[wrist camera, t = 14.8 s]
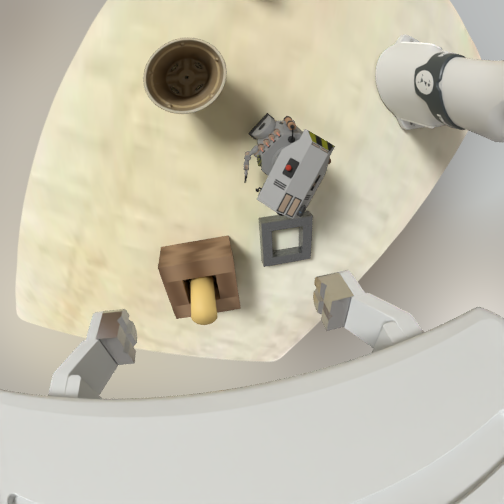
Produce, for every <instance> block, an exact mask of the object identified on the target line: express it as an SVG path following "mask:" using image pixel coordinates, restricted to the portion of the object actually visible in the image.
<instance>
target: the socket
mask: <svg viewBox="0 0 504 504" xmlns="http://www.w3.org/2000/svg"><path fill="white" fill-rule="evenodd" d="M158 269H159V272H160V275H161V278H162V281H163V284H164V287H165V289H166V292H167V295H168V298H169V300H170V303H171V306H172V308H173V311H174V314H175V316H176V319H178V318H185V317H191V282H189V281H188V279H192V278H199V277H205V276H211V275H216V278H213V283H214V292H215V300H216V309H217V312H223V311H229V310H235V309H240V302H239V295H238V288H237V281H236V274H235V267H234V260H233V254H232V250H231V245H230V241H229V236H223V237H217V238H211V239H205V240H199V241H193V242H188V243H182V244H176V245H170V246H165V247H161V251H160V258H159V264H158Z"/></svg>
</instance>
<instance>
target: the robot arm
mask: <svg viewBox="0 0 504 504" xmlns="http://www.w3.org/2000/svg"><path fill="white" fill-rule="evenodd" d="M376 84H377V89H378V92H379V94H380V97H381V99H382V101H383V102H384V104H385V105H386V106H387V108H388V109H389V110H390V111H391V112H392V113H393V114H394V115H395V116H396V118H397V120H398V122H399V124H400V126H401V128H403V129H406V130H410V129H416V128H422V127H428V128H434V127H439V126H443V125H447V126H449V127H452V128H456V129H460V130H465V129H467V130H469V131H471V132H474V133H476V134H479V135H481V136H483V137H486V138H488V139H490V140H492V141H495V142H504V60H502V61H490V60H478V59H470V58H466V57H464V56H462V55H459V54H455V53H450V52H447V51H442V48H441V47H438V46H435V44H431V43H421V42H419V41H418V40H416V39H414V38H412V37H411V36H409V35H404V34H402V35H401V36H400V37H399V38H398V40H397V41H396V43H395V44H394V45H392V46H390V47H388V48H387V49H385V50H384V51H383V53H382V54H381V55H380V57H379V59H378V62H377V66H376ZM410 122H411V124H410ZM315 286H316V290H315V291H314V295H313V299H314V305H315V308H316V310H317V312H318V313H320V314H322V317H321V320H322V323H323V325H324V327H325V329H326V331H328V330H332V329H336V328H341V327H345V328H346V329H347V330H349V331H350V332H351V333H353V334H354V335H356V336H357V337H358V338H360V339H361V340H363V341H364V342H365V343H367V344H368V345H370V346H371V347H372V348H374V349H373V351H372V353H371V354H368V355H365V356H362V357H359V358H356V359H353V360H350V361H347V362H344V363H340V364H337V365H333V366H330V367H327V368H323V369H319V370H316V371H312V372H308V373H304V374H300V375H297V376H292V377H289V378H284V379H279V380H275V381H270V382H266V383H261V384H256V385H250V386H245V387H240V388H234V389H227V390H220V391H214V392H206V393H199V394H189V395H179V396H168V397H154V398H131V399H102V398H101V397H100V396H99V395H100V393H101V392H102V390H103V389H104V387H105V385H106V384H107V382H108V381H109V379H110V377H111V376H112V374H113V373H114V371H115V370H116V368H117V366H118V365H122V364H132V363H135V353H136V351H135V349H134V345H135V344H136V343H137V331H136V328H135V325H134V323H133V322H132V321H130V320H129V314H128V312H127V310H125V309H120V310H110V311H103V312H95V313H94V314H93V316H92V319H91V323H90V326H89V330H88V334H87V337H86V341H83V342H81V343H80V345H79V346H78V347H77V348H76V349H75V350H74V351H73V352H72V353H71V354H70V356H69V357H68V358H67V359H66V360H65V361H64V362H63V363H62V364H61V365H60V367H59V368H58V369H57V370H56V371H55V372H54V374H53V377H52V381H51V385H50V390H49V394H48V396H43V395H33V394H26V393H19V392H13V391H7V390H2V389H0V504H504V318H502V317H500V316H499V315H497V314H495V313H493V312H491V311H489V310H487V309H484V308H481V307H477V308H474V309H472V310H470V311H468V312H466V313H464V314H462V315H460V316H458V317H456V318H454V319H452V320H450V321H448V322H446V323H444V324H442V325H440V326H438V327H436V328H434V329H431V330H429V331H427V332H424V331H423V330H422V329H421V327H420V326H419V324H418V323H417V321H416V320H415V319H414V317H413V316H412V314H411V313H409V312H406V311H405V310H403V309H401V308H398V307H396V306H394V305H392V304H390V303H388V302H386V301H384V300H382V299H380V298H378V297H376V296H374V295H372V294H370V293H365V292H364V291H363V289H362V287H361V286H360V285H359V283H358V282H357V280H356V279H355V278H354V276H353V275H352V273H351V272H350V271H349V270H345V271H340V272H337V273H332V274H327V275H322V276H318V277H316V278H315Z"/></svg>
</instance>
